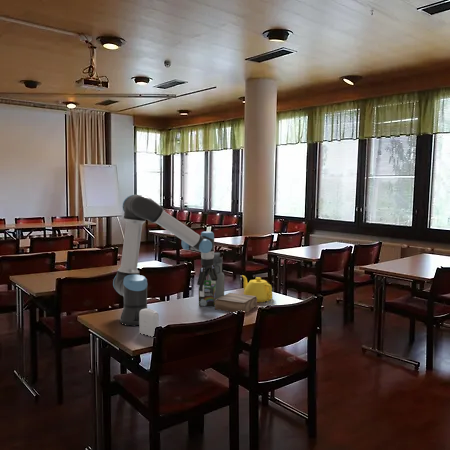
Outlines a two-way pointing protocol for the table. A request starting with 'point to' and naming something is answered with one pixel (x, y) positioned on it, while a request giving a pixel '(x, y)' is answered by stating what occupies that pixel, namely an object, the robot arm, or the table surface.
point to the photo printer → (148, 321)
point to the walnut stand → (235, 302)
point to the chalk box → (208, 295)
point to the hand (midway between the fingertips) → (207, 293)
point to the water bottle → (218, 275)
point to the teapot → (258, 289)
